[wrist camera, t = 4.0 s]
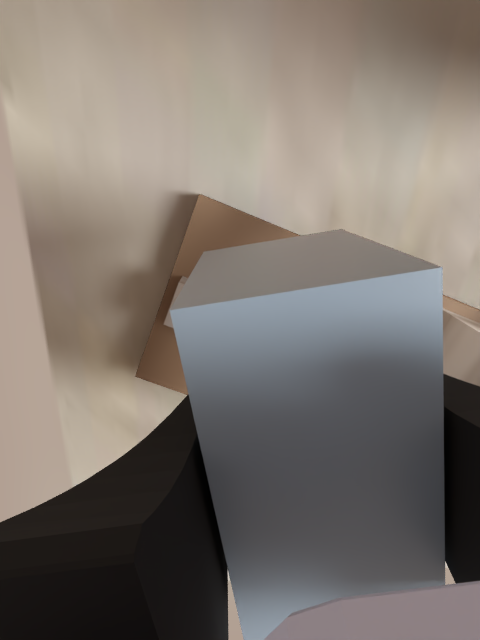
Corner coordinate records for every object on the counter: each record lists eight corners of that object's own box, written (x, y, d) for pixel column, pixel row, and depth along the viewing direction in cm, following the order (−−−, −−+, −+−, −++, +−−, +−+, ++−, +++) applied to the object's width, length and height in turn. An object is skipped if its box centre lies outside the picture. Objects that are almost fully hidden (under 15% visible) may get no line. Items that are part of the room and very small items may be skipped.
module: (341, 228, 12) (441, 267, 6) (362, 476, 14) (445, 671, 8) (203, 251, 12) (169, 309, 6) (249, 491, 14) (255, 692, 9)
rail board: (527, 329, 20) (673, 402, 13) (433, 471, 22) (514, 592, 16) (201, 194, 18) (177, 199, 11) (140, 367, 20) (91, 455, 14)
